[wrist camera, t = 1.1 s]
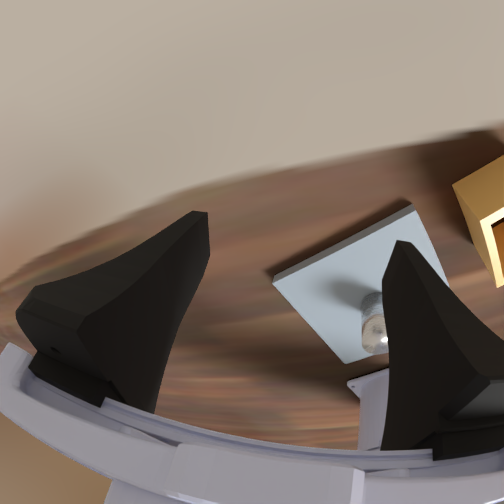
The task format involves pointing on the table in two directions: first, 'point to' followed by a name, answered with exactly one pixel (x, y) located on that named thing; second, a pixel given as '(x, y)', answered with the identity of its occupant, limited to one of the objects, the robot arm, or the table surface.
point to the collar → (485, 214)
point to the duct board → (353, 285)
